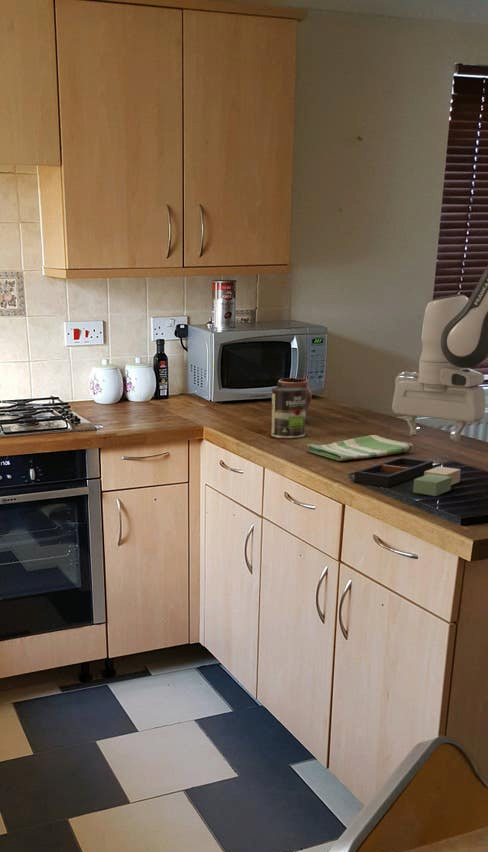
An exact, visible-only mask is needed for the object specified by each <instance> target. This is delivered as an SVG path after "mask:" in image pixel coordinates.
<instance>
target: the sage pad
mask: <svg viewBox="0 0 488 852" xmlns="http://www.w3.org/2000/svg"><path fill="white" fill-rule="evenodd" d="M451 480H452V477H448V476H441V475H434V474H428V475H425V476H424V475H421V476H418V477H416V478H413V487H412V489H413V490H412V493H414V494H420V495H427V496H432V497H437V496H439V495H442V494H445V493H447V492H449V491H452V485H451Z"/></svg>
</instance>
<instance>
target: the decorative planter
mask: <svg viewBox="0 0 488 852" xmlns="http://www.w3.org/2000/svg"><path fill="white" fill-rule="evenodd" d="M276 387H304V388H306V389H307V390H306V410H305V417H306V416H307V414H308V411H309V408H310V405H311V404H312V391H311V389H310V387H309V380H308V378H295V377H287V378H280V379H279V380H278V381H277V383H276Z"/></svg>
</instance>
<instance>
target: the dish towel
mask: <svg viewBox="0 0 488 852" xmlns="http://www.w3.org/2000/svg"><path fill="white" fill-rule="evenodd" d="M306 446H307V447H308V452H309V453H312V454H315V455H318V456H322V457H324V458H328V459H330V460H334V461H339V462H345V461H353V460H361V459H362V460H363V459H371V458H378V457H384V456H391V455H398V454H402V453H406V452H409V451H411V450H412V448H413V447H414V444H412V443H410V442H407V441H401V440H395V439H390V438H386V437H382V436H380V435H376V434H371V435H366V436H365V435H364V436H360V437H359V436H358V437H353V438H349V439H346V440H345V439H344V440H338V441H334V442H332V443H328V444H314V443H307V444H306Z"/></svg>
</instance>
